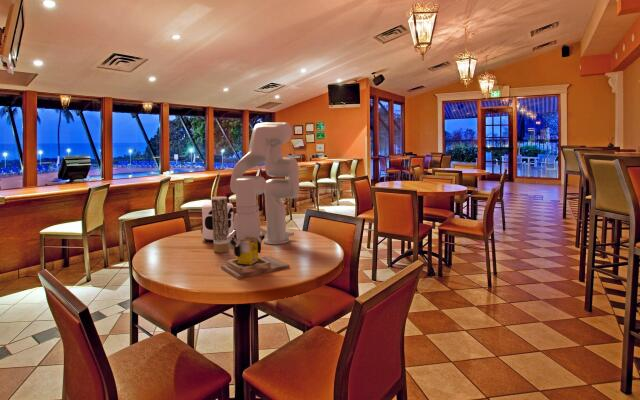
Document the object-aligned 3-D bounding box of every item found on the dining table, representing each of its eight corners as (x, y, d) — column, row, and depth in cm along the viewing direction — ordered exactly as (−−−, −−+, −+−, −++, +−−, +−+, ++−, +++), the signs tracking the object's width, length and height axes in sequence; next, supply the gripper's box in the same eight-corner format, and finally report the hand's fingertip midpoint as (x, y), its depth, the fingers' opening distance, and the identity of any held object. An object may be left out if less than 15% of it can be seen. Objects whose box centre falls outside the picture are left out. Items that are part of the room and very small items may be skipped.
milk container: (215, 234, 217) (213, 201, 214) (242, 236, 210) (241, 203, 208) (194, 241, 201) (192, 206, 198) (223, 244, 194) (221, 208, 192)
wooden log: (225, 253, 178) (222, 198, 175) (211, 252, 180) (208, 198, 176) (231, 249, 185) (229, 196, 182) (218, 248, 186) (215, 196, 183)
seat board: (269, 258, 170) (269, 251, 170) (289, 267, 157) (289, 259, 157) (221, 268, 157) (220, 260, 157) (238, 279, 145) (237, 270, 144)
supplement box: (258, 262, 157) (257, 235, 156) (251, 266, 152) (250, 239, 150) (245, 261, 159) (244, 234, 158) (237, 265, 154) (236, 237, 152)
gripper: (262, 206, 160) (263, 248, 163) (221, 211, 150) (223, 255, 153) (271, 209, 154) (272, 252, 157) (229, 213, 144) (230, 260, 147)
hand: (247, 253), depth 155 cm, fingers closed on supplement box, 8 cm apart
